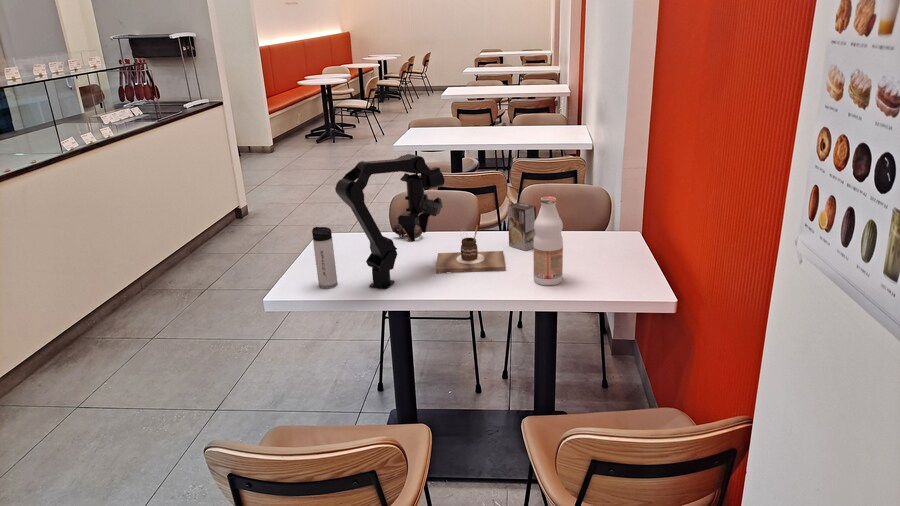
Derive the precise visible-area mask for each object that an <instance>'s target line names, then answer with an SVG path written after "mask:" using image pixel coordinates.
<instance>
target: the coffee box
mask: <svg viewBox="0 0 900 506" xmlns="http://www.w3.org/2000/svg"><path fill="white" fill-rule="evenodd" d="M507 216H508V221H507V222H508V223H507V226H508V247H511V248H515V249H519V250H522V251H525V252H526V251H530V250H532V249H534V247H533V244H534V237H535V230H534V222H535V220H536V218H537V206H536V205H532V204H527V203H524V202H523V203H522V202H519V201H518V202H515V203H512V204H510V205H507Z"/></svg>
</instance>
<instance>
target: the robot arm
mask: <svg viewBox="0 0 900 506" xmlns="http://www.w3.org/2000/svg"><path fill="white" fill-rule="evenodd" d="M398 172H399V173H400V172H401V173H404V174H403V176H401V178H400V181H401V182H404V183H406V194H407V195H406V196H404V199H405V200H406V201H407V207H406V209H405V211H406V212H403V213H401V214H400V215H398V216H397V224H399V225H402V227H403V228H404V229H405V231H406V232H407V234H408V235H407V234H406V235H407V236H408V237H410V239H411V242H415V241H416V239H415V232H416V231H417V228H416V227H418V226H417V225H418V224H420V227H421V230H422V234H424V233H425V234H426V233H427V229H428V224H429V221H430V217H431V216H432V217H437V216H438V215H439V214H441V210H442V208H443V203H442V198H440V197H438V196H437V197H436V198H435V199H429V198H428V194H427V193H425V190H427V191H428V190H433V189H436V188H441V187H443V186H444V185H445V177H444V174H443V173H442V171H441V168H440V167H438V166H434V167H432V168H430V167H428V164H426V160H425V159H424V157H423V156H421V155H416V154H411V153H408V154H404V155H401V156H399V157H397V158H394V159H393V158H392V159H391V158H390V159H382V160H381V159H380V160H370V161H364V160H360V161H359V162H357V164H356V165H355V166H354V167H353V168H351V169H350V171H348V172H347V173H346V174H345V175H344V176H343V177H342V178H341V179H339V180H338V181H337V183H336V184H335V188H334V189H335V192H336V194H337V195H338V197H339V198H340V200H341V201H343V202H344V203H345V205H347V206H348V207H349V208H350V210H351V211H352V213H353V214H354V215H353V216H355V218H356V219H357V222H358V223H359V225H360V227H361V229H362V230H363V232H364V234H365V235H366V238H367V239H368V240H369V249H370V250H369V251H370V252H371V253H370V254H369V256H368V257H367V258H366V260H365V263H366V264H367V266H368V267H369V268H371V273H372V274H371V275H372V276H371V277H372V283H370V284H369V288H374V289H383V290H387V289H388V288H390V287H391V286H393V284H394V283H395V282H396V280H393V279H391V270H392V271H393V270H394V267H395V265H396V264H395V262H396V259H397V256H398V252H397V250H398V248H397V247H396V246H395V244H394V241H393V239H391V238H388V237H386V236H384V235H383V234H382V232H381V231H380V229H379V227H378V225H377V223H376V221H375V219H374V217H373V216H372V214H371V212H370V210H369V208H368V207H367V205H366V202H365V193H364V189H366V187H367V186H368V182H369V179H370V178H371V176H372V175H378V174H389V173H398ZM420 227H419V228H420Z"/></svg>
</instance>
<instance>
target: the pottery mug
mask: <svg viewBox="0 0 900 506" xmlns="http://www.w3.org/2000/svg"><path fill="white" fill-rule="evenodd" d="M416 227H419V229H418V230H416V232H415V240H416V239H418V238H419V237H421V235H422V234H423V232H422V230H421V227H420V224H418V225H417V226H416ZM392 230H393V232H394V233H395V235H398V237H399V238H402V237H403V236H405V235H407V236H408V234H407V232H406V231H405V229H404V228H403V227H402V225H400V224H398V223H397V224H394V226H393V227H392ZM401 236H402V237H401ZM407 241H408V242H410V241H411V239H410V237H409V236H408V237H407ZM411 242H412V241H411Z"/></svg>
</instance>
